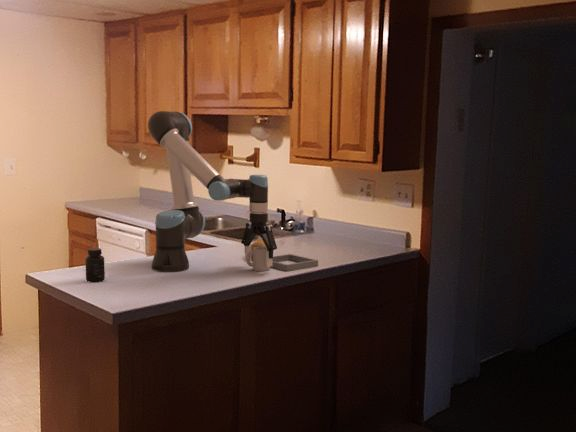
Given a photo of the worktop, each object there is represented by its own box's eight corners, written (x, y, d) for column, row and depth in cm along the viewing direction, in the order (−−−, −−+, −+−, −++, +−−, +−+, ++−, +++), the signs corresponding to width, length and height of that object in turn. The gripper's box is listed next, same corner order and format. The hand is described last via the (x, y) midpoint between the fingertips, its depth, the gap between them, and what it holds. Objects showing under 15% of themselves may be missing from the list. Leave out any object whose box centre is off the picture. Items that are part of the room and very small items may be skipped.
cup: (270, 271, 266) (270, 250, 265) (245, 271, 266) (245, 249, 265) (270, 267, 274) (270, 246, 272) (246, 267, 273) (246, 246, 272)
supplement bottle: (82, 280, 245) (81, 248, 244) (99, 277, 250) (98, 246, 249) (91, 283, 240) (90, 251, 239) (108, 280, 245) (107, 249, 244)
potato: (273, 255, 301) (273, 238, 300) (268, 261, 288) (269, 243, 287) (252, 254, 302) (252, 237, 301) (247, 260, 289) (247, 242, 288)
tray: (286, 271, 267) (286, 265, 267) (258, 264, 280) (258, 258, 280) (318, 265, 279) (318, 260, 279) (289, 259, 292) (289, 253, 292)
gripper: (285, 214, 260) (285, 267, 263) (246, 209, 278) (246, 258, 281) (271, 216, 255) (271, 269, 258) (232, 210, 273) (233, 260, 276)
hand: (258, 263), depth 269 cm, fingers open, 13 cm apart
